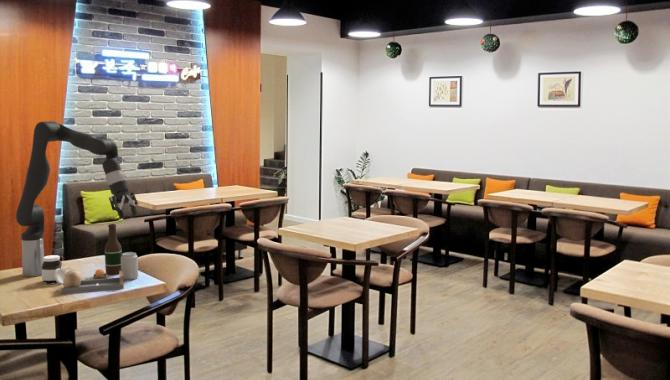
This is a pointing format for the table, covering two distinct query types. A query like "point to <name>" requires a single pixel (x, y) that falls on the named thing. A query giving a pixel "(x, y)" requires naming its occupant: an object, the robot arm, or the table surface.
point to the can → (129, 265)
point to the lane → (94, 285)
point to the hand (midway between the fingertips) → (129, 216)
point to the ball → (99, 272)
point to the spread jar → (52, 270)
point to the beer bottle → (113, 252)
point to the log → (72, 279)
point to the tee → (100, 277)
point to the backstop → (121, 279)
